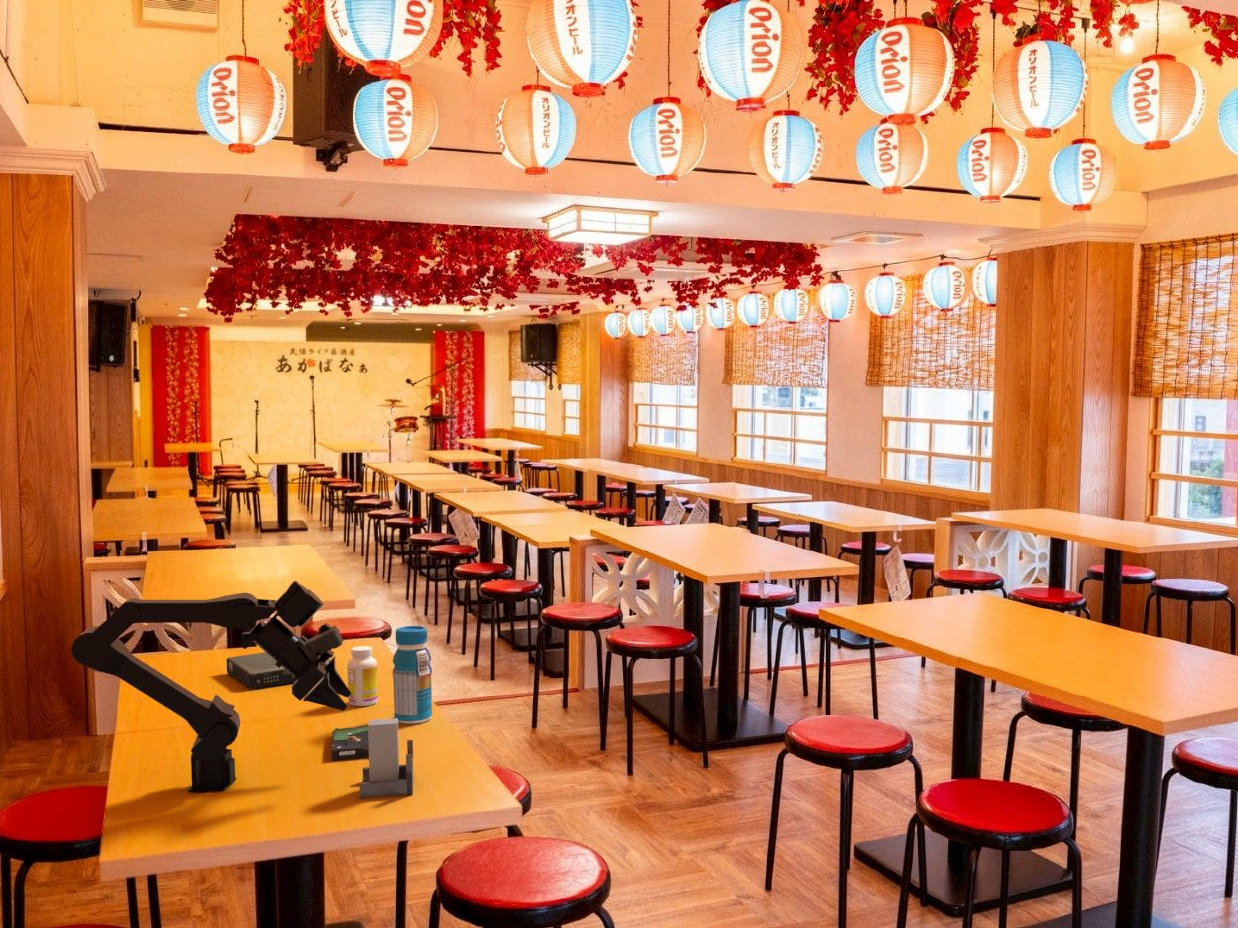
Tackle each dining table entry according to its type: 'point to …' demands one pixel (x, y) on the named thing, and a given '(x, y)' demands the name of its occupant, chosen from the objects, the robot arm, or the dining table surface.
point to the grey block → (383, 750)
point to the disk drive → (350, 743)
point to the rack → (392, 786)
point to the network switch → (257, 671)
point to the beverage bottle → (412, 676)
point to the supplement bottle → (362, 677)
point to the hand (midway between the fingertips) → (347, 701)
